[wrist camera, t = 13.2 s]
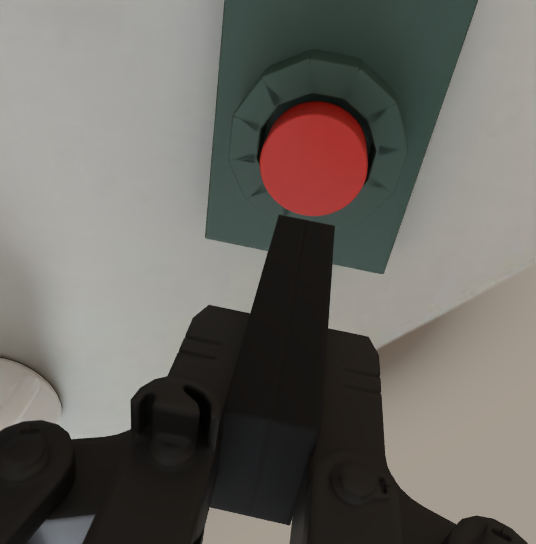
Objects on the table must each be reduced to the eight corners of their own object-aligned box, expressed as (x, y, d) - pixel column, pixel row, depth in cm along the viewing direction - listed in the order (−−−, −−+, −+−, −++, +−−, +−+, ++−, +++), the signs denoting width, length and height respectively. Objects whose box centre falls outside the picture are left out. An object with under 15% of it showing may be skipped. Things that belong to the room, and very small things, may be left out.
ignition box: (381, 251, 26) (385, 296, 22) (215, 218, 26) (194, 257, 23) (467, -7, 19) (491, 4, 16) (239, -48, 19) (216, -46, 16)
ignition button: (353, 205, 21) (352, 225, 19) (259, 187, 21) (252, 205, 19) (378, 111, 18) (381, 125, 17) (274, 91, 18) (267, 104, 17)
